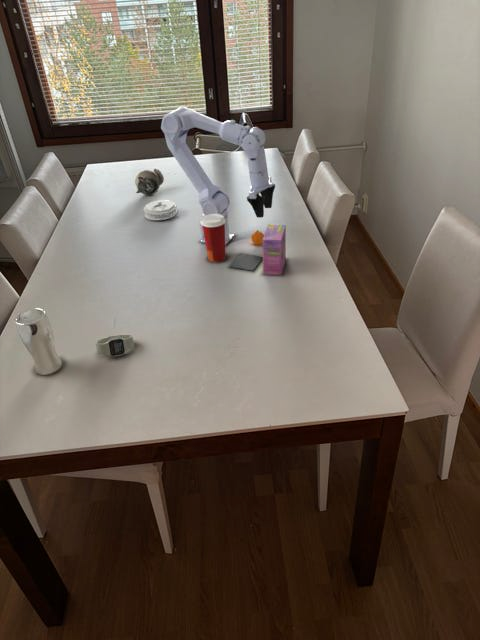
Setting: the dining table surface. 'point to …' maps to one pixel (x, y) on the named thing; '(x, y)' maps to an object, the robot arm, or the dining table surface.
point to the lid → (160, 210)
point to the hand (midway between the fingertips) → (264, 212)
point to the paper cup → (214, 236)
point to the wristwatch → (115, 344)
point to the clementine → (257, 238)
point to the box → (274, 249)
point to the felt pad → (246, 262)
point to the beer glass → (38, 340)
